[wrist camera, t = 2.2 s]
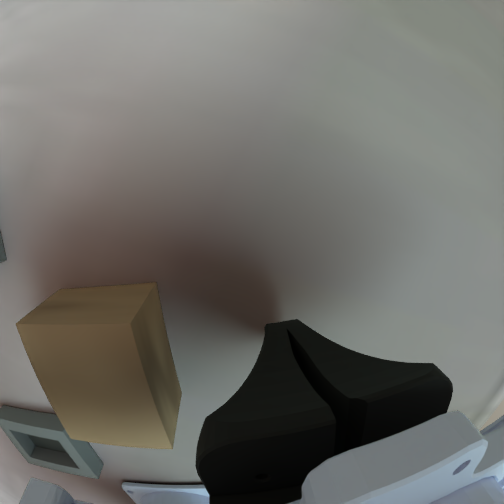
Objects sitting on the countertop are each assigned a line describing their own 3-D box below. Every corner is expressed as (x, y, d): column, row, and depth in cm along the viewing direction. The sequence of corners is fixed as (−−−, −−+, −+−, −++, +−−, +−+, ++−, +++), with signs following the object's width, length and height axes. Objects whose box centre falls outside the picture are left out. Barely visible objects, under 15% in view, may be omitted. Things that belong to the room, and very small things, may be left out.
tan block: (182, 391, 14) (172, 449, 10) (96, 389, 13) (70, 438, 9) (157, 280, 12) (130, 323, 8) (61, 287, 12) (15, 323, 8)
